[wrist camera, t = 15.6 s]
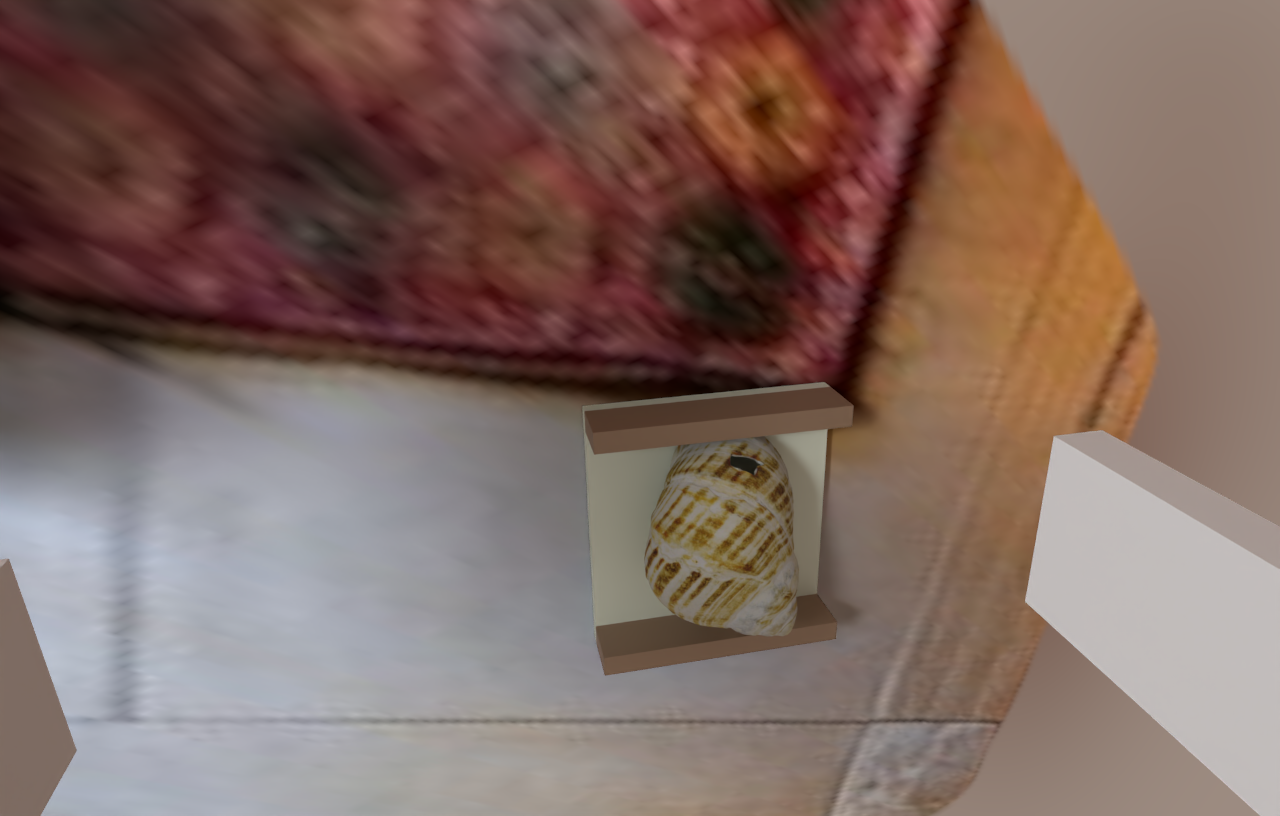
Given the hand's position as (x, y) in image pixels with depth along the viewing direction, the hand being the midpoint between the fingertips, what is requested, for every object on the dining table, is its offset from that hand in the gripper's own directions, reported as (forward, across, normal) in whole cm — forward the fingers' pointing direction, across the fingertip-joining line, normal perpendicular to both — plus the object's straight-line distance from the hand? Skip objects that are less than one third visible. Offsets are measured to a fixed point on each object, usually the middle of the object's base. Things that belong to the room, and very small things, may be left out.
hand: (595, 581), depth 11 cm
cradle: (+33, +11, -18) cm, 39 cm away
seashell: (+32, +11, -18) cm, 38 cm away
